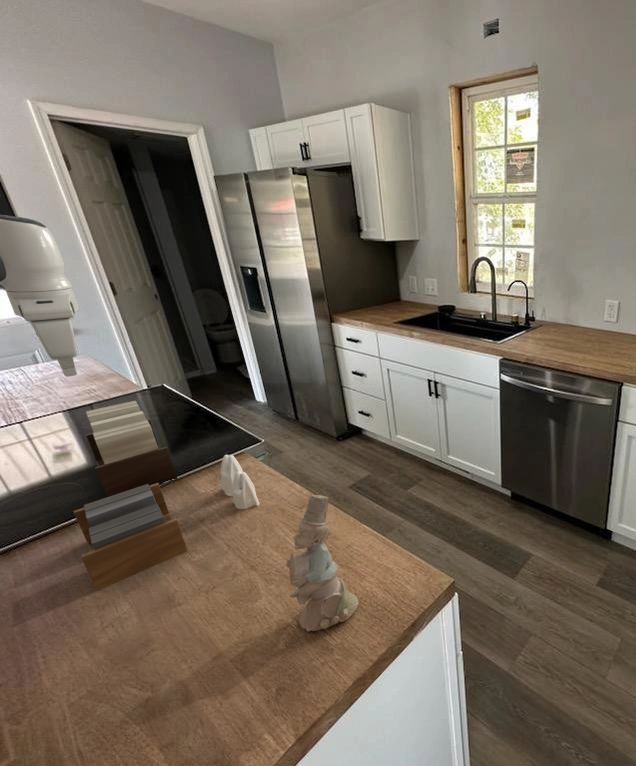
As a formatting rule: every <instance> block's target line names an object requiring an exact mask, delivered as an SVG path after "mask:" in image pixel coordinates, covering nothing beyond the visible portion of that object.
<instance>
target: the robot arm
mask: <svg viewBox="0 0 636 766" xmlns="http://www.w3.org/2000/svg"><path fill="white" fill-rule="evenodd" d="M65 269H66V265H65V261H64V258H63V256H62V252H61V250H60V248H59V245H58V244H57V241H56V239H55V237H54V235H53V233H52V232H51V230H50V229H49V228H48V227H47V226H46V225H44V224H43V223H41V222H40V221H38V220H36V219H35V220H34V219H31V218H27V217H21V216H15V215H5V214H0V286H2V287H3V288H4V290H5V293H6V295H7V297H8V300H9V303H10V305H11V308H12V310H13V313H14V315H15V316H18V317H21V318H22V319H23V320H24V321H25V322H27V323H29V324H30V325H31V327H32V328H33V331H34V332H35V334H36V336H37V337H38V340H39V341H40V343H41V345H42V346H43V349H44V350H45V352H46V354H47V355H48V357H49V358H50V359H51V360H53V361H57V363H58V365H59V366H60V368H61V370H62V373H63V375H64V377H67V378H68V377H75V376H77V375H78V372H77V369H76V366H75V361H74V358H76V357H78V348H77V341H76V335H75V330H74V324H73V320H74V319H75V318H74V317H75V314H76V313H77V312H79V311H80V306H79V303H78V300H77V297H76V294H75V291H74V288H73V286H72V284H71V282H70V281H69V280H68V277H67V276H66V271H65Z"/></svg>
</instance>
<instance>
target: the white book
mask: <svg viewBox="0 0 636 766" xmlns="http://www.w3.org/2000/svg"><path fill="white" fill-rule="evenodd" d="M143 420H147V418H146V416H145V413H144V411H143V410H140V412H136V413H131V414H127V415H123V416H118V417H114V418H110V419H106V420H101V421H97V422H93V423H90V422H89V424H90V427H91V429H92V433H94V432H98V431H103V430H107V429H111V428H115V427H119V426H123V425H127V424H131V423H135V422H139V421H143Z"/></svg>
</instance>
